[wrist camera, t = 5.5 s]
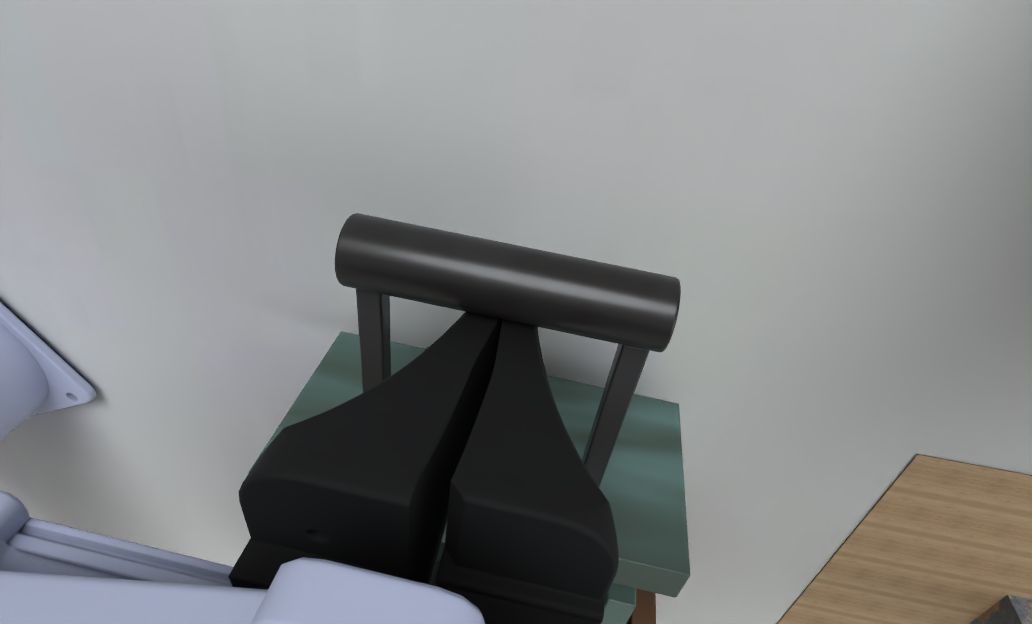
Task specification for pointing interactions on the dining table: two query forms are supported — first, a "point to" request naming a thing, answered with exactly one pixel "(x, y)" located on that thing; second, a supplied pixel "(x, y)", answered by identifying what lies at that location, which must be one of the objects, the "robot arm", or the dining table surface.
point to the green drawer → (583, 408)
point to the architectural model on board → (1020, 620)
